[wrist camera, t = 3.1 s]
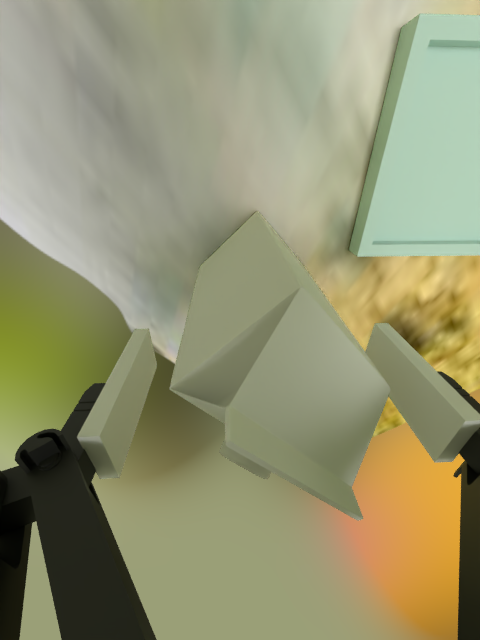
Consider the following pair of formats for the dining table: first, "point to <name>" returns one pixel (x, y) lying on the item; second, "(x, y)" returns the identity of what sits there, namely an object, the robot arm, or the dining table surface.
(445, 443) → the robot arm
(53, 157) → the dining table surface
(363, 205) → the tray
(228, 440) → the milk carton
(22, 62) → the dining table surface
